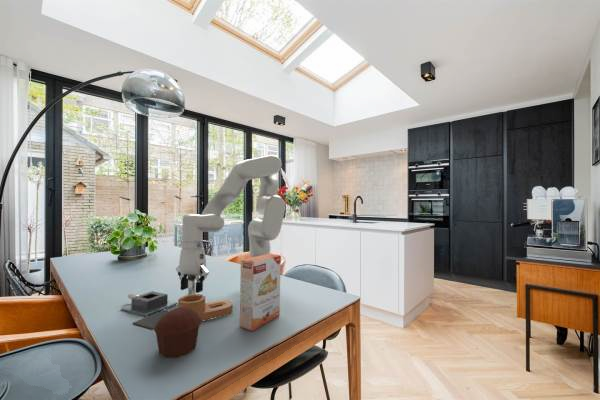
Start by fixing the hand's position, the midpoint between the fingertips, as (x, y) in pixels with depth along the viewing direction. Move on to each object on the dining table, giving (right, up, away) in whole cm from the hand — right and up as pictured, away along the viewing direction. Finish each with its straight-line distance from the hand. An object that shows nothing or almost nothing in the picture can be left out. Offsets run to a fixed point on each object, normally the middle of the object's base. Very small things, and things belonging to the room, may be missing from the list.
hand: (191, 290), depth 105 cm
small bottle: (0, -4, 0) cm, 4 cm away
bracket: (+11, -4, -14) cm, 18 cm away
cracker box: (+30, -4, -19) cm, 36 cm away
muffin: (+11, -4, -35) cm, 37 cm away
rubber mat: (-4, -3, -18) cm, 19 cm away
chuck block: (-14, -4, -7) cm, 16 cm away
